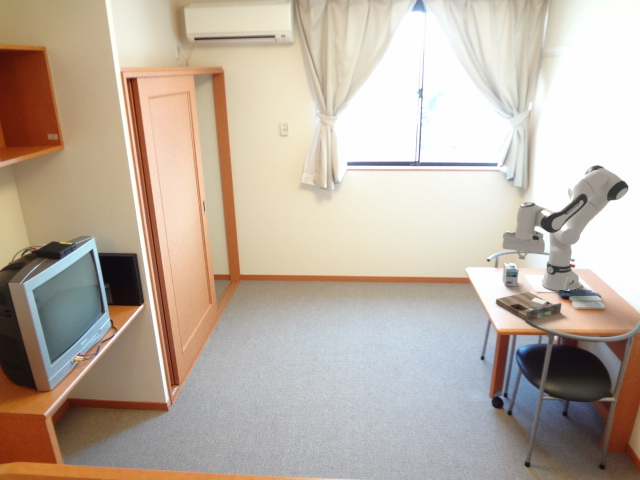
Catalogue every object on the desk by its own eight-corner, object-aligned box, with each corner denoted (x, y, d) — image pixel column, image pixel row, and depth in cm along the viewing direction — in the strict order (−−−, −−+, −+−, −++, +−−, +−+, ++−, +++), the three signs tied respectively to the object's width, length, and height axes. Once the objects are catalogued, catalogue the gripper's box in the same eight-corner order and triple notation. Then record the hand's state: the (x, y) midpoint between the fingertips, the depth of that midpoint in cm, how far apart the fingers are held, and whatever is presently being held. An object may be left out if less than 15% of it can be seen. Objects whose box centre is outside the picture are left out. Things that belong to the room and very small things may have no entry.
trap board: (527, 295, 262) (528, 287, 260) (560, 312, 242) (561, 303, 241) (495, 303, 254) (496, 294, 252) (527, 321, 235) (528, 312, 233)
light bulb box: (517, 286, 273) (519, 269, 270) (504, 286, 275) (506, 268, 271) (513, 279, 283) (515, 262, 280) (501, 278, 285) (503, 262, 281)
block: (534, 303, 247) (535, 297, 246) (546, 307, 243) (547, 301, 242) (530, 306, 244) (531, 300, 243) (541, 310, 240) (542, 304, 239)
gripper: (502, 232, 247) (499, 257, 251) (544, 238, 236) (541, 263, 240) (504, 229, 252) (502, 253, 256) (546, 234, 241) (543, 259, 245)
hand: (521, 258), depth 248 cm, fingers closed
